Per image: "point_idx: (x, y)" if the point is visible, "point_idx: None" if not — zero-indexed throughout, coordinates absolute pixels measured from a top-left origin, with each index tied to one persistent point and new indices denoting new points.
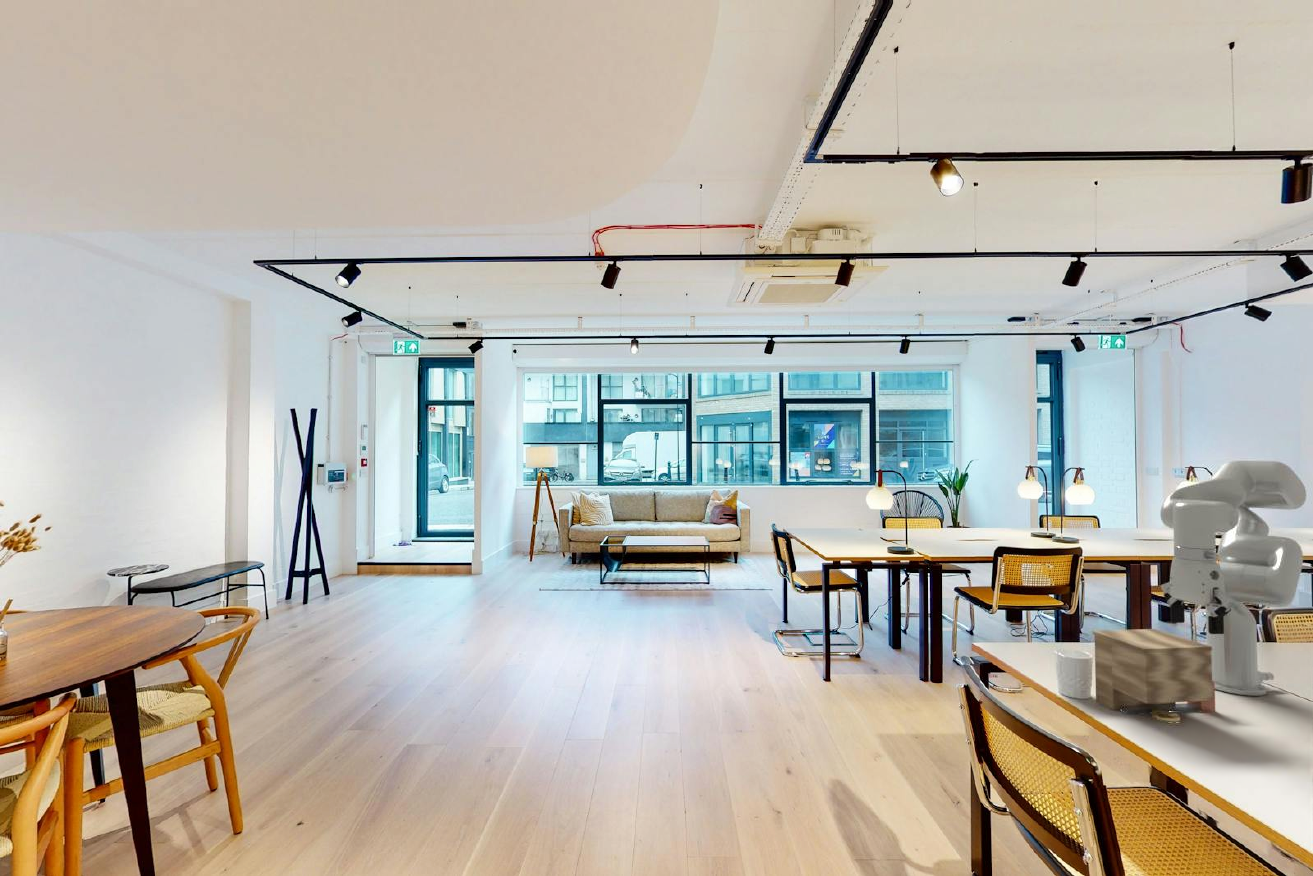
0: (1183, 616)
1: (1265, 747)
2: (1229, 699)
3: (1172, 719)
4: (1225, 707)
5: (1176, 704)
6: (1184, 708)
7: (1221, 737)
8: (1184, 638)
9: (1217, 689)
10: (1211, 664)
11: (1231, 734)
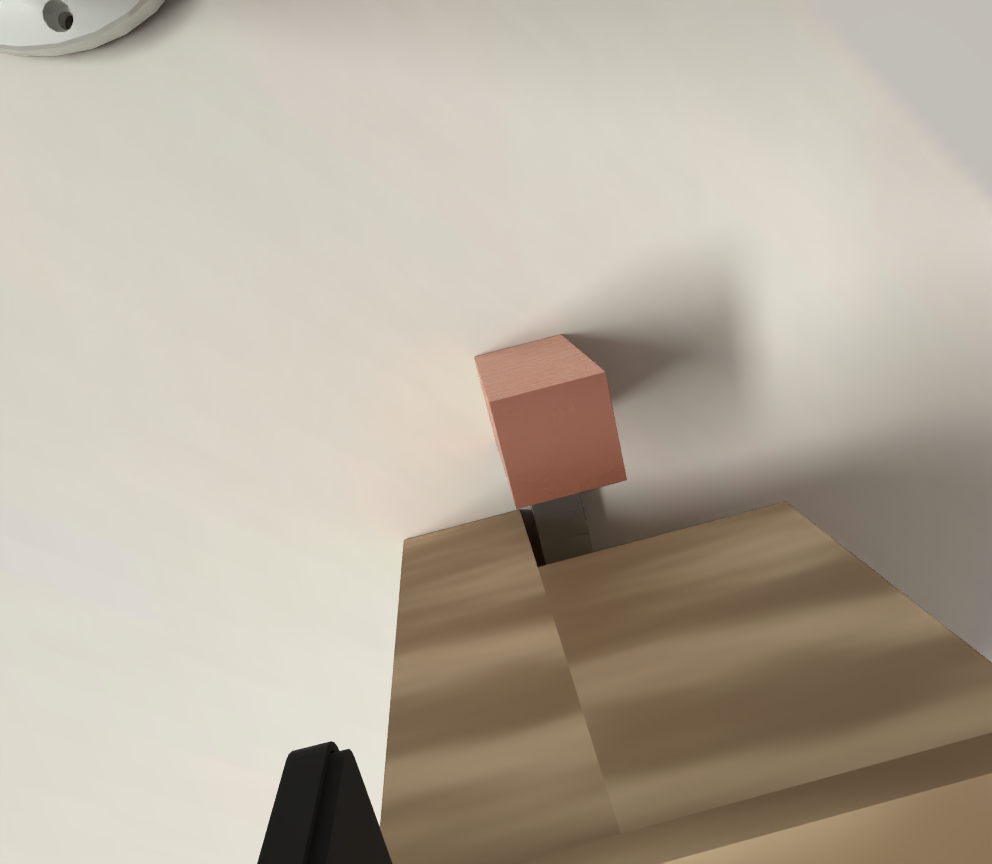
0: (339, 856)
1: (983, 399)
2: (318, 79)
3: None
4: (481, 221)
5: (547, 528)
6: (582, 507)
7: (877, 520)
8: (777, 842)
9: (129, 30)
10: (951, 633)
11: (848, 454)
